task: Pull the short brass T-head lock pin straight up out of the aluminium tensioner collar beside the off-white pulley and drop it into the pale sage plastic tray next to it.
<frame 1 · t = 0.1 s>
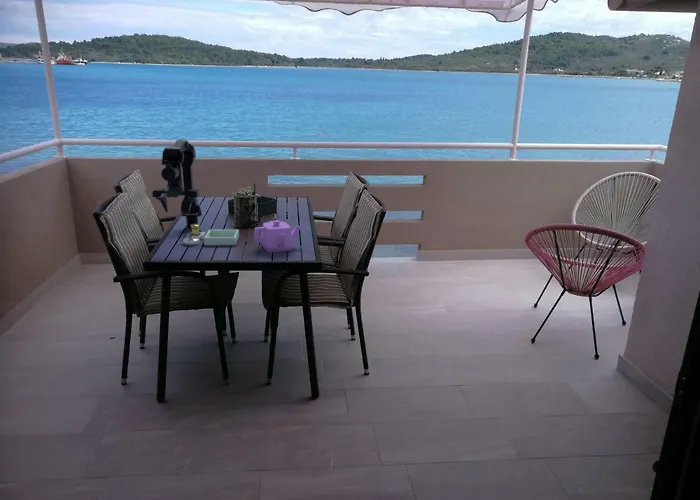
hand: (177, 212, 219), 15 cm above the table, tool pointing down, fingers open, 9 cm apart
teakettle: (278, 248, 223), on the table
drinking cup: (255, 220, 267), on the table
parts tray: (222, 240, 230), on the table
lock pin: (196, 237, 234), resting in tensioner bracket
tensioner bracket: (196, 237, 234), on the table
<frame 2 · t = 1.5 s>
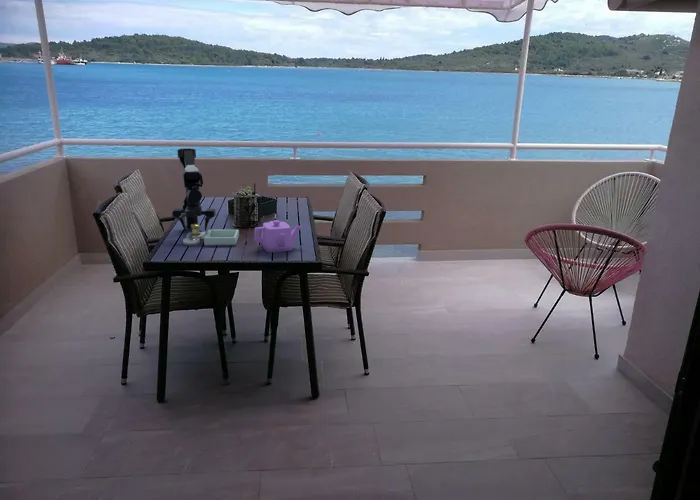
hand: (195, 230, 234), 3 cm above the table, tool pointing down, fingers open, 9 cm apart
nothing on the table moved.
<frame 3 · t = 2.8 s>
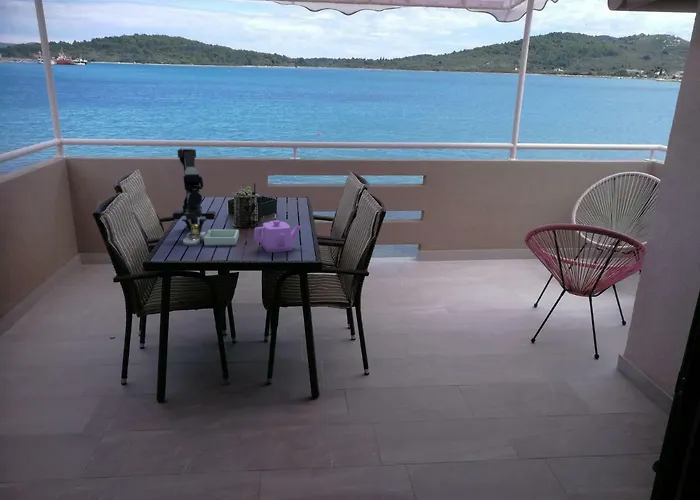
hand: (195, 233, 234), 2 cm above the table, tool pointing down, fingers closed on lock pin, 4 cm apart
lock pin: (196, 237, 234), resting in tensioner bracket, touching gripper
everything else where it was.
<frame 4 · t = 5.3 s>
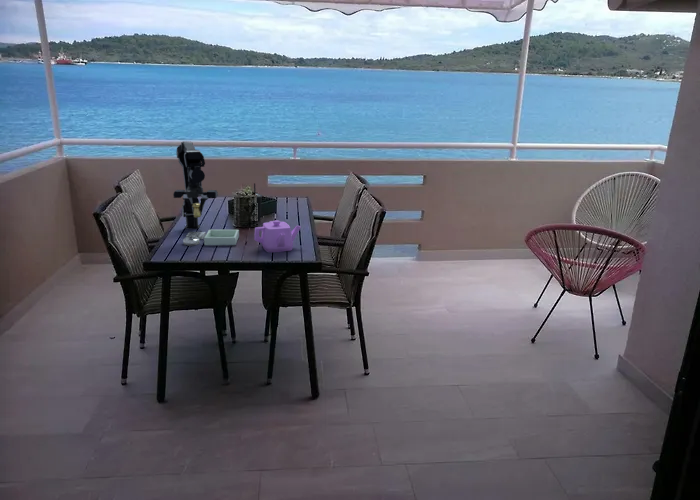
hand: (197, 212, 230), 12 cm above the table, tool pointing down, fingers closed on lock pin, 4 cm apart
lock pin: (197, 216, 231), point 10 cm above the table, touching gripper
everything else where it was.
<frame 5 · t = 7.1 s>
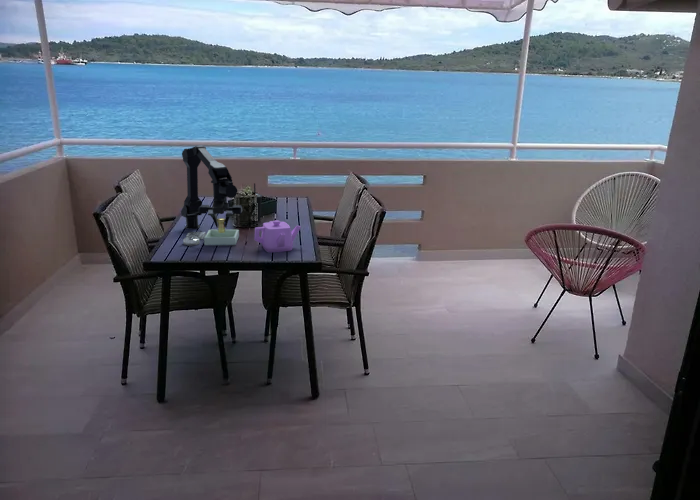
hand: (221, 227, 228), 6 cm above the table, tool pointing down, fingers closed on lock pin, 4 cm apart
lock pin: (221, 232, 229), point 4 cm above the table, touching gripper
everything else where it was.
when the fingers open (4 cm above the table, at t = 8.2 s): lock pin drops 1 cm, resting on parts tray.
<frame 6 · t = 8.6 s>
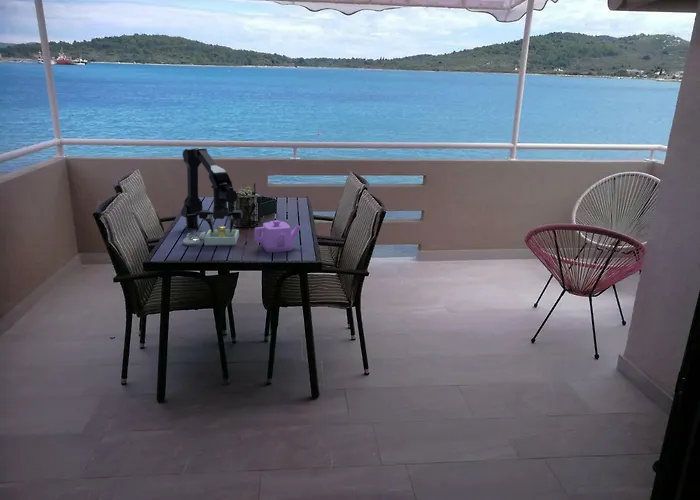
hand: (221, 232, 229), 4 cm above the table, tool pointing down, fingers open, 8 cm apart
lock pin: (222, 239, 230), point 1 cm above the table, touching parts tray
everything else where it was.
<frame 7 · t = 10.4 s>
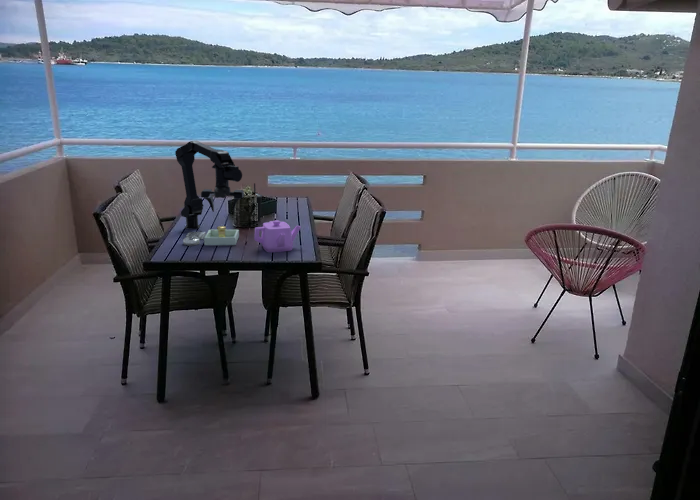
hand: (223, 211, 234), 12 cm above the table, tool pointing down, fingers open, 9 cm apart
nothing on the table moved.
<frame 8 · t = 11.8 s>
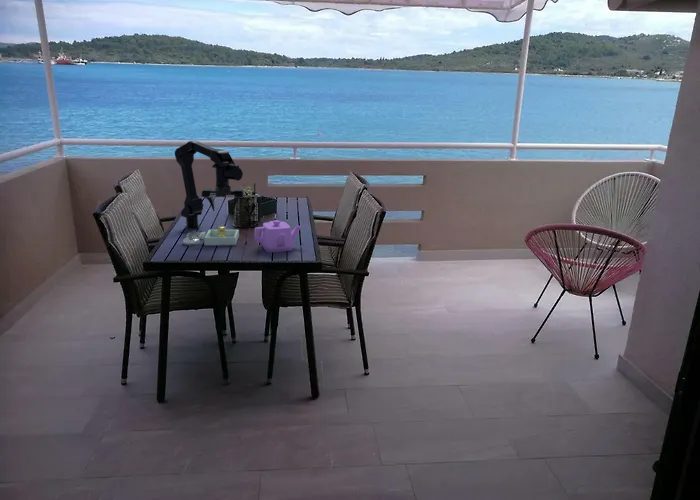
hand: (223, 211, 235), 12 cm above the table, tool pointing down, fingers open, 9 cm apart
nothing on the table moved.
at the end: lock pin inside the target area on the parts tray (0.1 cm from its centre), point 0.6 cm above the parts tray's base; the gripper is holding nothing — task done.
